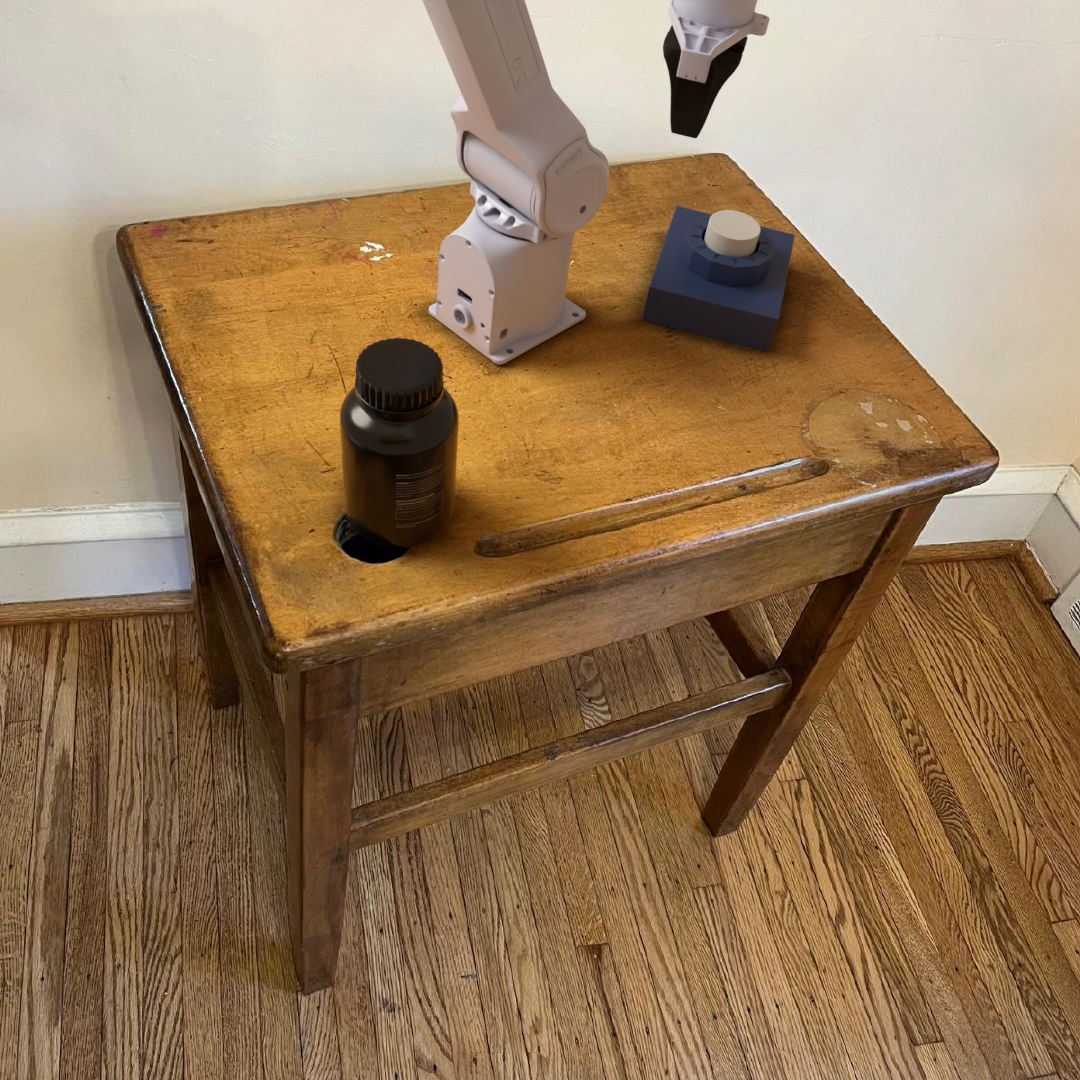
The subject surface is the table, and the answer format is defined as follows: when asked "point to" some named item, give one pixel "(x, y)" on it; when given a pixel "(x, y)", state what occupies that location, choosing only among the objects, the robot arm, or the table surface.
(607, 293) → the table surface
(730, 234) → the cylinder
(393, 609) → the table surface
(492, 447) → the table surface
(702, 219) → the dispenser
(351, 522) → the supplement bottle
